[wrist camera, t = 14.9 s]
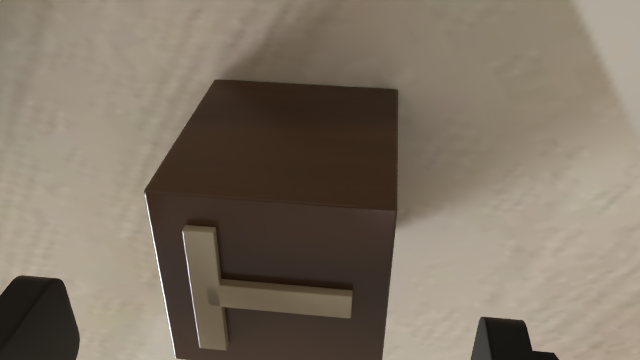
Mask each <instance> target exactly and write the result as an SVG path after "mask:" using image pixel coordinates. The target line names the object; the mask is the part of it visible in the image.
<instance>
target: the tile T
mask: <svg viewBox="0 0 640 360" xmlns="http://www.w3.org/2000/svg"><path fill="white" fill-rule="evenodd" d="M397 188H398V90H394V89H376V88H358V87H340V86H322V85H304V84H287V83H269V82H251V81H233V80H214V82H213V83H212V85H211V86H210V88H209V90H208V91H207V93H206V94H205V96H204V97H203V99H202V101H201V102H200V104H199V105H198V107H197V108H196V110H195V112H194V113H193V115H192V116H191V118H190V119H189V121H188V123H187V124H186V126H185V127H184V129H183V130H182V132H181V134H180V135H179V137H178V138H177V140H176V141H175V143H174V144H173V146H172V148H171V149H170V151H169V152H168V154H167V155H166V157H165V159H164V160H163V162H162V163H161V165H160V166H159V168H158V170H157V171H156V173H155V174H154V176H153V177H152V179H151V181H150V182H149V184H148V185H147V187H146V188H145V190H144V194H145V199H146V204H147V210H148V215H149V220H150V226H151V231H152V236H153V242H154V247H155V252H156V258H157V263H158V268H159V273H160V279H161V284H162V289H163V295H164V300H165V305H166V311H167V316H168V321H169V327H170V332H171V337H172V343H173V348H174V353H175V358H177V359H185V360H382V357H383V347H384V337H385V327H386V317H387V307H388V297H389V288H390V278H391V268H392V258H393V248H394V238H395V228H396V218H397Z"/></svg>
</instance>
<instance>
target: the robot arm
mask: <svg viewBox="0 0 640 360" xmlns="http://www.w3.org/2000/svg"><path fill="white" fill-rule="evenodd" d="M79 342H80V337H79V331H78V327H77V324H76V321H75V317H74V314H73V311H72V307H71V304H70V301H69V297H68V294H67V291H66V287H65V285H64V283H63V281H62V280H60V279H57V278H46V277H34V276H23V275H22V276H18V277H16V278H15V279H14V280H13V281H12V282H11V283H10V284H9V285H8V287H7V288H6V289H5V290H4V292H3V293H2V294H1V295H0V360H76V357H77V354H78V350H79ZM471 360H559V359H558V358H557V357H556V355H555V354H554V353H550V352H539V351H532V347H531V343H530V339H529V335H528V331H527V327H526V324H525V322H524V321H523V320H514V319H503V318H491V317H481V318H480V320H479V324H478V328H477V333H476V337H475V342H474V346H473V351H472V356H471Z"/></svg>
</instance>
